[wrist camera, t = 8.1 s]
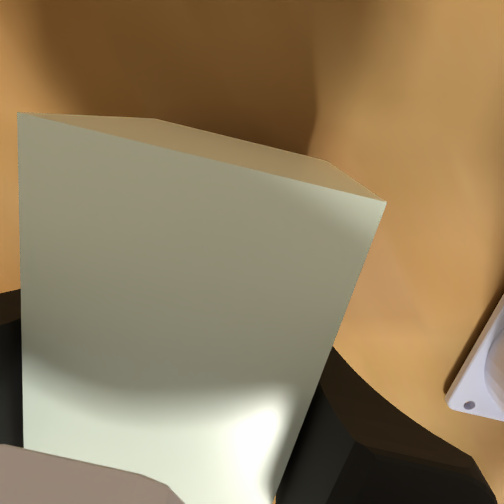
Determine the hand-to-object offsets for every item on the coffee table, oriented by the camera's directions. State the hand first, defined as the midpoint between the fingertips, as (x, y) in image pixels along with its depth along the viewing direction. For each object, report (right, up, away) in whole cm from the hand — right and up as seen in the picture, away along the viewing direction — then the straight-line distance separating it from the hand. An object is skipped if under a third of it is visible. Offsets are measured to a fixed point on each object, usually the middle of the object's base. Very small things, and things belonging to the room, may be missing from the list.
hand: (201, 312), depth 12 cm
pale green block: (0, +1, +2) cm, 2 cm away
